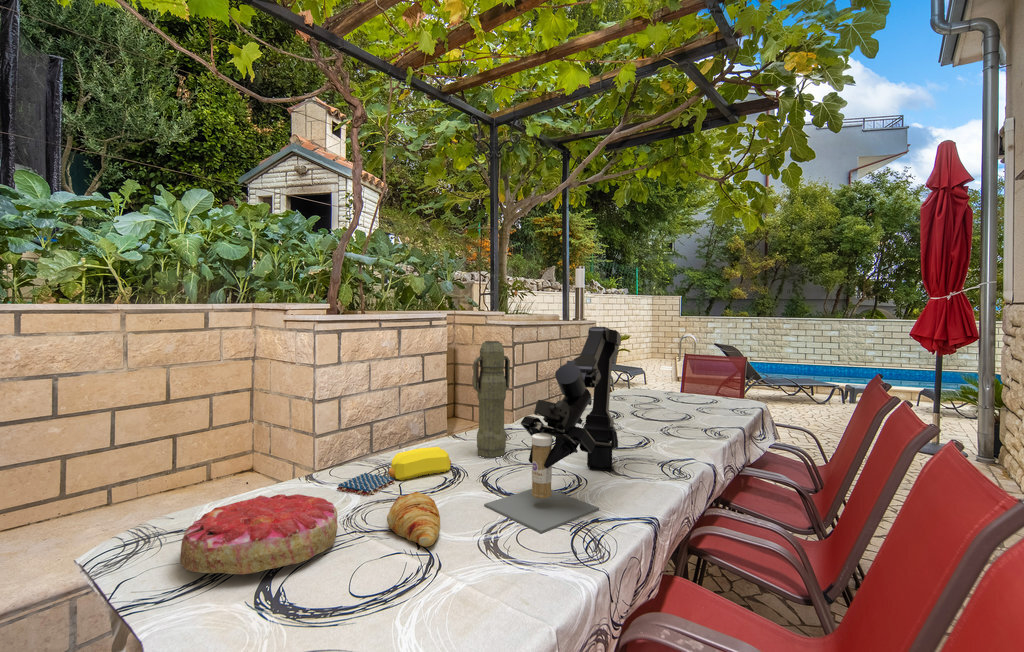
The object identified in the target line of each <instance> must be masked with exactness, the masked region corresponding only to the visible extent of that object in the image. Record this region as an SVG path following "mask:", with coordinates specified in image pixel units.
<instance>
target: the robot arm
mask: <svg viewBox="0 0 1024 652" xmlns="http://www.w3.org/2000/svg"><path fill="white" fill-rule="evenodd" d="M587 331H588V332H587V334H588V336H587V338H586V341H585V343H584V345H583V347H582V350H581V352H580V354H579V356H577V357H576V358H574V359H572V360H570V359H569V360H566V363H565V364H563V365H560V367H558V368H557V370H556V371H555V374H554V377H555V380H556V382H557V385H558V387H559V390H560V392H561V395H563V398H562V399H561V400H557V401H556V402H552V401H548V400H542V399H537V401H536V404H535V408H534V411H533V413H534V414H535V415H539V416H542V417H543V418H542V420H543V421H544V422H545V423H547V425H545V424H544V423H543V421H542V420H541V419H540V418H539V417H536V416H532V415H525V416H524V417H523V419H522V420H521V421H520V425H521V427H523V428H524V430H526V432H527V433H528V434H529V435H530V436H531V437H532V435H534V434H537V433H545V434H550V435H552V437H555V438H554V439H555V442H554V445H552V450H551V452H550V454H549V455H548V457H547V459H546V461H545V464H544V467H545V468H549V467H551V466H552V467H553V466H554V465H555V464H557V463H558V462H559V461H561V460H563V459H564V458H566V457H568V456H570V455H572V454H575V453H578V451H579V450H580V451H581V452H584V453H586V454H587V457H586V459H587V460H586V461H587V463H586V464H587V466H588V470H592V471H608V472H613V471H614V469H613V467H614V466H613V450H614V449H618V448H619V438H618V437H619V436H618V432H617V430H616V427H615V426H614V425H615V424H614V423H615V422H614V419H613V416H612V415H611V413H610V397H611V396H610V395H611V385H612V384H611V382H612V366H613V365H612V364H613V360H614V359H615V358H616V356H617V355H618V354H619V347H620V346H621V344H622V343H621V342H622V336H621V335H622V334H621V333H620V332H619V331H617V329H610V328H608V327H606V326H591V327H589V328H588V330H587ZM587 388H588V389H587ZM589 388H590V389H591V388H592V389H593V399H592V394H591V392H590V390H589ZM588 405H589V406H591V405H592V410H591V411H590V412H589V413H588V414H586V416H585V424H584V425H583V427H579V426H577V425H582V423H583V421H584V420H583V419H582V418H581V417H582V415H583V413H584V412H585V410H586V409H587V407H588ZM578 447H579V450H578ZM528 457H529V458H528V461H529V462H528V463H530V464H532V460H533V446H532V445H531V447H530V453H529V456H528Z"/></svg>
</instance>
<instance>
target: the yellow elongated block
mask: <svg viewBox="0 0 1024 652" xmlns="http://www.w3.org/2000/svg"><path fill="white" fill-rule="evenodd" d="M451 466H452V460H451V459H450V456H449V453H448V452H447V451H446V450H445V449H442V448H441V447H440V446H433V447H432V446H431V447H419V448H415V449H409V450H405V451H401V452H398V453H397V452H396V454H395V455H394V457H393V458H392V460H391V464H390V468H389V469H388V473H387V474H388V476H389V477H392V479H393V478H394V479H396V480H399V481H405V480H404V479H407V480H410V479H409V478H411V479H414V478H413V477H415V478H417V477H418V476H419V477H421V476H422V475H423V476H428V474H429V475H434V474H433V473H438V474H441V473H440V472H444V473H447V472H448V471H450V470H451ZM446 471H447V472H446Z"/></svg>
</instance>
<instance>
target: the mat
mask: <svg viewBox="0 0 1024 652" xmlns="http://www.w3.org/2000/svg"><path fill="white" fill-rule="evenodd" d="M551 493H552V495H551V496H550V497H548V498H543V499H541V498H536V497H534V496H533V495H532V488H530V489H527V490H524V491H521V492H520V491H519V492H518V493H514V494H511V495H509V496H508V495H507V496H505V497H502V498H498V499H494V500H492V501H490V502H486V503H484V504H483V506H484V508H487V509H489V510H492V511H494V512H495V513H498V514H500V515H502V516H504V517H506V518H508V519H510V520H512V521H514V522H516V523H518V524H521V525H523V526H525V527H527V528H529V529H531V530H533V531H535V532H537V533H539V534H543V533H546V532H548V531H551V530H554V529H555V528H559V527H560V526H563V525H565V524H568V523H571V522H573V521H576V520H578V519H580V517H581V518H583V517H585V516H588V515H589V514H592V513H595V512H597V511H600V506H596V505H594V504H591V503H588V502H586V501H584V500H581V499H578V498H575V497H573V496H570V495H567V494H565V493H562V492H559V491H556V490H553V489H551ZM575 519H576V520H575ZM570 521H571V522H570Z"/></svg>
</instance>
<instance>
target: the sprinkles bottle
mask: <svg viewBox="0 0 1024 652" xmlns="http://www.w3.org/2000/svg"><path fill="white" fill-rule="evenodd" d="M532 446H533V460H532V463H531V466H532V467H531V484H532V485H531V486H532V487H531V489H532V495H533V496H534V497H536V498H541V499H543V498H548V497H550V496H551V495H552V493H551V490H552V481H553V480H552V479H553V478H552V476H553V474H552V473H553V471H552V470H553V469H552V467H553V465H552V466H551V467H549V468H545V467H544V464H545V461H546V459H547V457H548V455H549V454H550V452H551V450H552V448H553V436H552V435H550V434H545V433H537V434H534V435H532V436H531V447H532Z"/></svg>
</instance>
